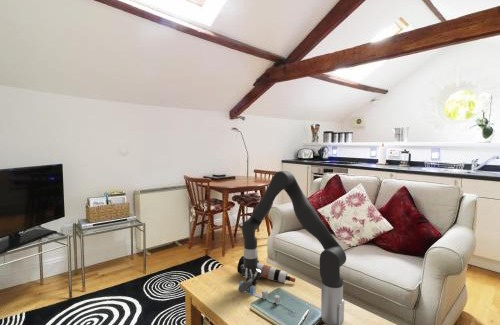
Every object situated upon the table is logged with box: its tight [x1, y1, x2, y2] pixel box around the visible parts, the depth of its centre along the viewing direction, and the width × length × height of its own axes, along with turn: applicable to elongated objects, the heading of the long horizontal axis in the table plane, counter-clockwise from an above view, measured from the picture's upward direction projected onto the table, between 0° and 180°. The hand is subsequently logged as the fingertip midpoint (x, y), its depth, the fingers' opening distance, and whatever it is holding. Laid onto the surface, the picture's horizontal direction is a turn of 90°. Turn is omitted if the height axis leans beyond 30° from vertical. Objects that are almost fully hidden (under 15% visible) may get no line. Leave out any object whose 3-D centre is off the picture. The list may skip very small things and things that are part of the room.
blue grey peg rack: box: [238, 280, 281, 303], centre depth 141 cm, size 24×2×4 cm, turn 52°
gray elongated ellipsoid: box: [238, 277, 252, 294], centre depth 145 cm, size 14×4×4 cm, turn 142°
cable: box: [236, 255, 296, 284], centre depth 159 cm, size 10×34×10 cm
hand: (250, 285), depth 148 cm, fingers closed on gray elongated ellipsoid, 3 cm apart
